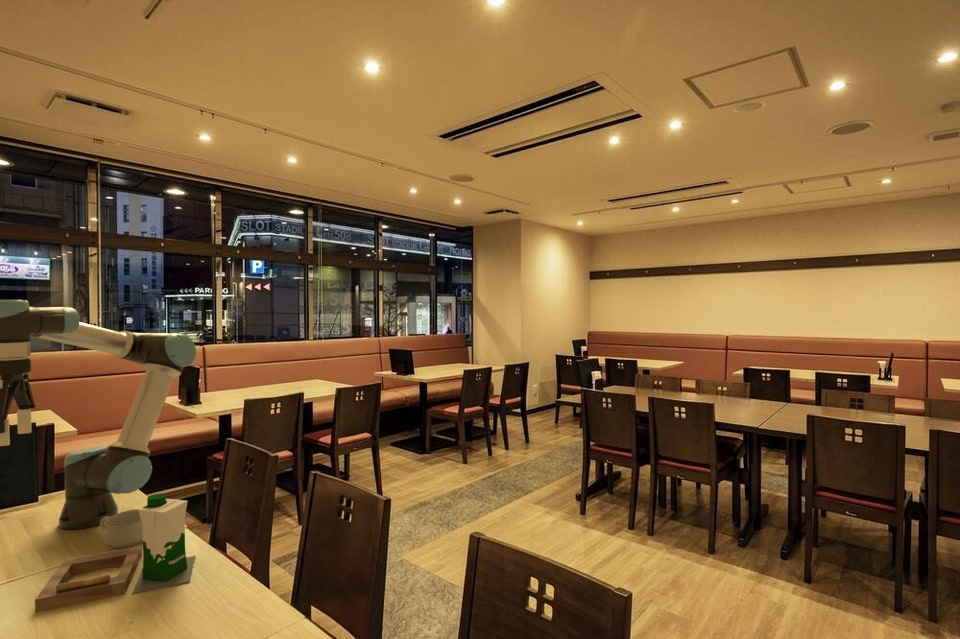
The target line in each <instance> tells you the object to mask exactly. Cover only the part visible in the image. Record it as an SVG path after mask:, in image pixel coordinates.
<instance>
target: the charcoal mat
mask: <svg viewBox="0 0 960 639" xmlns="http://www.w3.org/2000/svg"><path fill="white" fill-rule="evenodd" d="M186 560H187V567H188V568H187V569H185V570H184V571H182V572H181V573H179V574H178V575H176V576H175V577H173V578H172V579H170V580H169V581H167V582H160V581H152V580H144V579H142V575H143V567H142V568H141V571H140V572H139V576H138V578H137V580H136V582H135V585H134V587H133V590H132V591H131V592H132V593H131V595H137V594H141V593H147V592H151V591H156V590H160V589H161V590H162V589H166V588H172V587H177V586H179V585H184V584H185V585H186V584H190V583H191V578H192V574H193V570H192V569H194V565H195V561H194V560H196V555H192V556H186ZM193 564H194V565H193Z"/></svg>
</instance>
